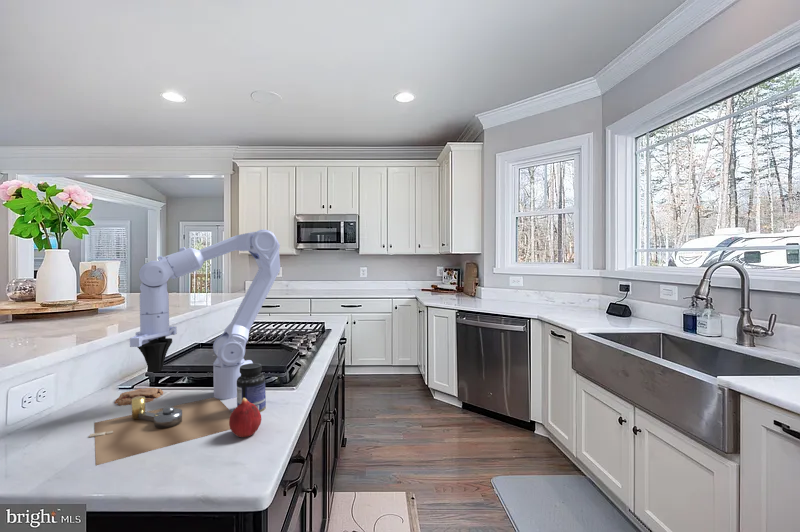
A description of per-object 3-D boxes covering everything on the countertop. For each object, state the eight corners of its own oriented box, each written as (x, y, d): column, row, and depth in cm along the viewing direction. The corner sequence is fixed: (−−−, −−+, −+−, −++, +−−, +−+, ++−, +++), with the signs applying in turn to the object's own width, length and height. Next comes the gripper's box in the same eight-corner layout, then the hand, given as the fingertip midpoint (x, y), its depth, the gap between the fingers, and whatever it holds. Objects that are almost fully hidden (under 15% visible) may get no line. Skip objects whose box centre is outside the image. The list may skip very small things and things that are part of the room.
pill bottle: (270, 408, 91) (269, 362, 91) (259, 419, 85) (258, 369, 85) (244, 408, 91) (244, 362, 91) (231, 418, 85) (231, 369, 85)
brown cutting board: (216, 400, 96) (216, 395, 96) (244, 430, 79) (244, 424, 79) (88, 428, 81) (88, 422, 81) (89, 473, 64) (88, 465, 64)
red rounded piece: (267, 434, 77) (267, 394, 77) (247, 447, 72) (246, 405, 72) (244, 430, 79) (243, 391, 79) (222, 443, 74) (222, 401, 74)
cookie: (172, 395, 101) (172, 384, 101) (142, 411, 90) (142, 398, 90) (137, 395, 102) (137, 383, 102) (103, 410, 91) (103, 397, 91)
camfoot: (187, 419, 82) (187, 400, 82) (165, 429, 77) (165, 409, 77) (146, 411, 86) (145, 393, 86) (123, 420, 82) (122, 401, 81)
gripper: (156, 309, 96) (157, 363, 97) (114, 317, 82) (115, 381, 82) (184, 308, 97) (185, 362, 97) (148, 317, 82) (149, 380, 82)
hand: (155, 371), depth 90 cm, fingers closed
